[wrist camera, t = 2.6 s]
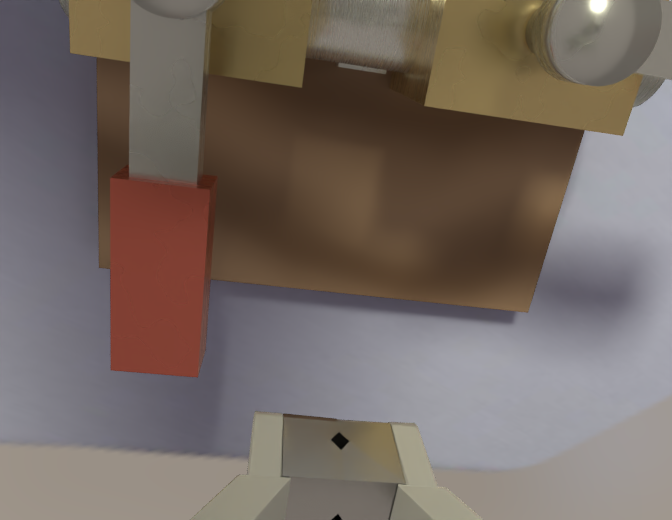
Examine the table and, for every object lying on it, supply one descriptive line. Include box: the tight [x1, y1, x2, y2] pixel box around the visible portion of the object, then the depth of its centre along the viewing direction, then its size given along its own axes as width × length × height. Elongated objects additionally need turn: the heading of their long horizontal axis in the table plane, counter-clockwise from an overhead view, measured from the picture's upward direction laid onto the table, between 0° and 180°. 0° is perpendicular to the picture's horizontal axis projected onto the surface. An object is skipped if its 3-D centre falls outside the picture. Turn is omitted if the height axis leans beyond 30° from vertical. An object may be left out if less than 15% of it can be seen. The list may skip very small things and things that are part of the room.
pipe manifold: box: [59, 0, 672, 136], centre depth 18 cm, size 6×28×10 cm, turn 82°
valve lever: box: [110, 0, 225, 377], centre depth 15 cm, size 13×3×2 cm, turn 172°
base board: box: [97, 57, 584, 312], centre depth 25 cm, size 20×22×2 cm
